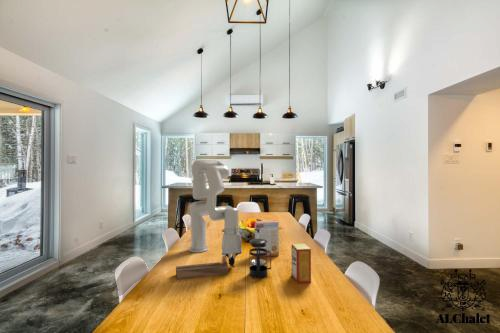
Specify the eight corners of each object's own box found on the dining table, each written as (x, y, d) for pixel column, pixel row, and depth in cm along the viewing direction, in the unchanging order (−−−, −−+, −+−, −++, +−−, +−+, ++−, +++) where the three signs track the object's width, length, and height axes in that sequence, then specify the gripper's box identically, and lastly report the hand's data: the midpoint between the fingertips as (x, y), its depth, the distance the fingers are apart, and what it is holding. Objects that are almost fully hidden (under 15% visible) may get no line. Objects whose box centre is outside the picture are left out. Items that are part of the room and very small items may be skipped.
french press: (247, 278, 127) (247, 231, 127) (248, 270, 136) (247, 226, 136) (271, 278, 126) (271, 231, 126) (270, 271, 136) (270, 226, 136)
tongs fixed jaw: (177, 275, 130) (177, 266, 130) (227, 270, 136) (227, 261, 136) (176, 279, 126) (176, 269, 126) (228, 273, 132) (228, 264, 132)
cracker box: (276, 252, 165) (276, 219, 165) (279, 256, 159) (279, 221, 159) (254, 254, 162) (254, 220, 162) (256, 257, 156) (256, 222, 156)
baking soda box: (291, 275, 130) (291, 243, 130) (304, 274, 131) (304, 242, 131) (297, 283, 121) (297, 248, 121) (310, 282, 122) (310, 248, 122)
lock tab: (212, 268, 138) (212, 256, 138) (225, 267, 140) (225, 255, 140) (213, 270, 136) (213, 258, 136) (226, 268, 138) (226, 256, 138)
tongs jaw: (176, 274, 131) (176, 266, 131) (219, 269, 137) (219, 262, 137) (175, 276, 129) (175, 268, 129) (220, 271, 134) (220, 263, 135)
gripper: (218, 233, 135) (218, 269, 134) (246, 231, 138) (246, 266, 138) (216, 230, 142) (216, 264, 142) (243, 228, 146) (243, 261, 145)
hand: (231, 265), depth 140 cm, fingers closed
